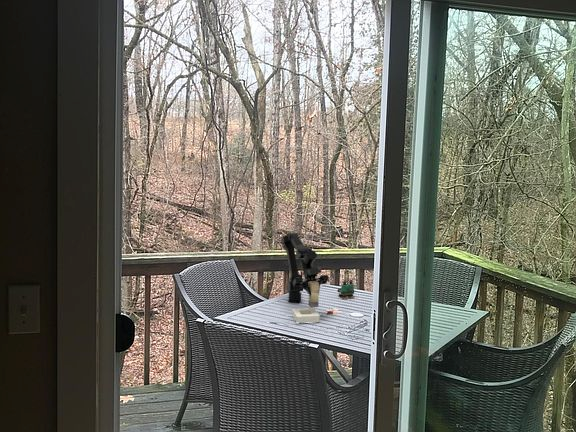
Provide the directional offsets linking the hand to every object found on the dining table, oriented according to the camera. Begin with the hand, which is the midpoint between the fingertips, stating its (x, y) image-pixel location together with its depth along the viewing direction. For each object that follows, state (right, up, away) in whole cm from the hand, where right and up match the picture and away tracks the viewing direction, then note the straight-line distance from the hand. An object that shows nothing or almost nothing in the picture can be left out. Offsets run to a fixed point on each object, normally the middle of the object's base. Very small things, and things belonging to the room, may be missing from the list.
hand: (314, 294), depth 322 cm
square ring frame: (-5, -13, +2) cm, 14 cm away
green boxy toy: (+20, -7, +40) cm, 45 cm away
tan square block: (-1, -6, +3) cm, 7 cm away
